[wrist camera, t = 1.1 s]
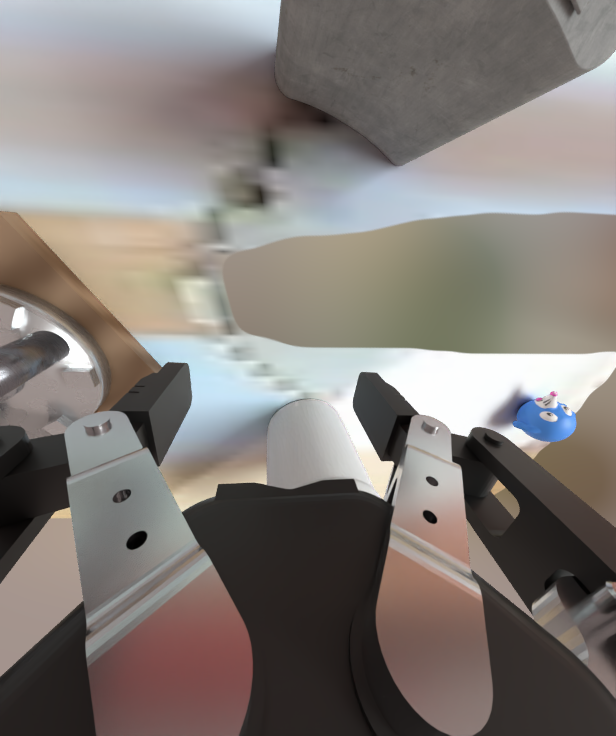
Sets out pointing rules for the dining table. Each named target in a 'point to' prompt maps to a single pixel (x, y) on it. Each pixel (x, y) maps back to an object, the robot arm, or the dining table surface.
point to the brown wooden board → (71, 302)
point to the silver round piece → (47, 366)
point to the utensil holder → (312, 447)
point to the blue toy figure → (546, 419)
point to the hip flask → (434, 61)
